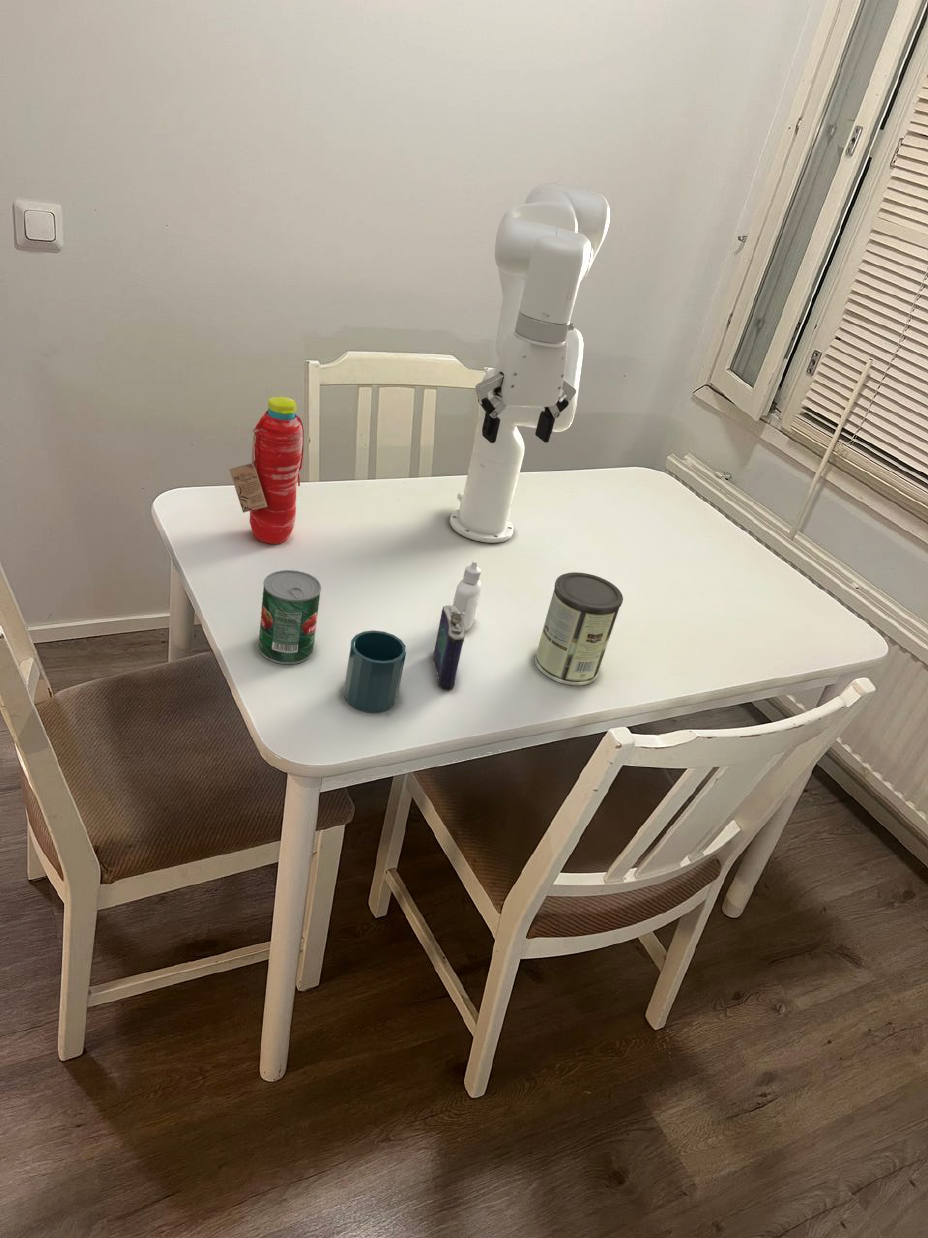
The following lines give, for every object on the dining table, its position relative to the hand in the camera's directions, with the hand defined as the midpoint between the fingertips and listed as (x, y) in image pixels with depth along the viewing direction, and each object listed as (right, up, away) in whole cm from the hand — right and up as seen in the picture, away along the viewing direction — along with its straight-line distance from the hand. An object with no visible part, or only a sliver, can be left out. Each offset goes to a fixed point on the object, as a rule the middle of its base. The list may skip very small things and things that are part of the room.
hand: (515, 439), depth 138 cm
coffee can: (+8, -35, +1) cm, 36 cm away
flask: (-11, -36, -6) cm, 38 cm away
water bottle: (-43, -14, +17) cm, 48 cm away
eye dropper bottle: (-9, -29, +5) cm, 31 cm away
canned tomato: (-34, -32, -9) cm, 48 cm away
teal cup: (-21, -38, -14) cm, 46 cm away
